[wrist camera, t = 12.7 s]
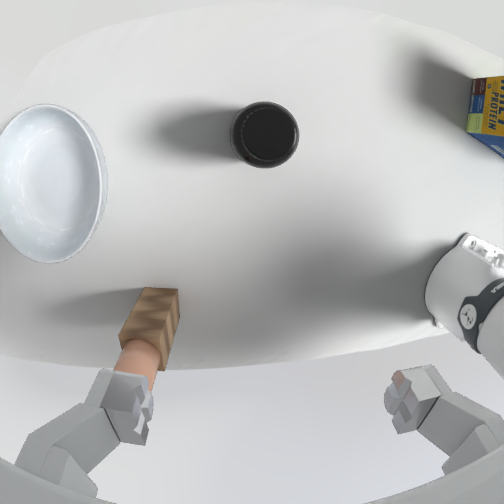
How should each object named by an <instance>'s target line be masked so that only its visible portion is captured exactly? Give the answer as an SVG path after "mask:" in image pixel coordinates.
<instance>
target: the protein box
mask: <svg viewBox="0 0 504 504" xmlns="http://www.w3.org/2000/svg"><path fill="white" fill-rule="evenodd" d="M466 132H467V133H468V134H470V135H471V136H473V137H475V138H476V139H478V140H479V141H481V142H482V143H484V144H485V145H487V146H488V147H489V148H491V149H492V150H494V151H495V152H496V153H498V154H499V155H500V156H502V157H503V158H504V76H496V77H486V78H477V79H473V81H472V92H471V100H470V108H469V115H468V121H467V127H466Z"/></svg>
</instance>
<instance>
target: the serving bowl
mask: <svg viewBox="0 0 504 504" xmlns="http://www.w3.org/2000/svg"><path fill="white" fill-rule="evenodd" d="M107 190H108V174H107V166H106V161H105V156H104V153H103V150H102V147H101V145H100V143H99V140H98V138H97V137H96V135H95V133H94V132H93V130H92V129H91V128H90V126H89V125H88V124H87V123H86V122H85V121H84V120H83V119H82V118H81V117H79V116H78V115H77V114H75V113H74V112H72V111H70V110H68V109H66V108H63V107H61V106H58V105H53V104H39V105H35V106H32V107H30V108H27V109H25V110H24V111H22V112H20V113H19V114H18V115H17V116H15V117H14V118H13V119H12V120H11V121H10V122H9V124H8V125H7V126H6V127H5V129H4V130H3V132H2V134H1V135H0V230H1V232H2V233H3V235H4V236H5V238H6V239H7V240H8V242H9V243H10V244H11V245H12V246H13V247H14V248H15V249H16V250H17V251H18V252H20V253H21V254H22V255H24V256H25V257H27V258H29V259H31V260H34V261H37V262H40V263H58V262H62V261H65V260H67V259H69V258H71V257H73V256H74V255H75V254H77V253H78V252H79V251H80V250H81V249H82V248H83V247H84V246H85V245H86V244H87V242H88V241H89V239H90V238H91V237H92V235H93V234H94V232H95V230H96V228H97V226H98V224H99V222H100V220H101V217H102V215H103V211H104V208H105V204H106V199H107Z"/></svg>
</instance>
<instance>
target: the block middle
mask: <svg viewBox="0 0 504 504" xmlns="http://www.w3.org/2000/svg"><path fill="white" fill-rule="evenodd" d="M129 317H139V318H151V319H165V320H166V322H167V330H168V338H169V345H170V350H171V346H172V343H173V339H174V336H175V325H174V315H173V305H172V303H167V302H151V301H137V302H136V304H135V306H134V307H133V309H132V311H131V313H130V315H129Z"/></svg>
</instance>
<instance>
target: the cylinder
mask: <svg viewBox="0 0 504 504" xmlns="http://www.w3.org/2000/svg"><path fill="white" fill-rule="evenodd" d="M160 360H161V356H160V353H159V351H158V349H157V348H156V347H155V346H154V345H152V344H151V343H149V342H147V341H145V340H141V339H132V340H130V341H128V342H127V343H126V344H125V346H124V348H123V350H122V352H121V354H120V356H119V359H118V361H117V363H116V365H115V367H114V371H121V372H126V373H133V374H139V375H145V376H147V377H148V381H149V386H148V390H149V391H150V392H151V391H152V388H153V384H154V380H155V377H156V374H157V371H158V367H159V364H160Z"/></svg>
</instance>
